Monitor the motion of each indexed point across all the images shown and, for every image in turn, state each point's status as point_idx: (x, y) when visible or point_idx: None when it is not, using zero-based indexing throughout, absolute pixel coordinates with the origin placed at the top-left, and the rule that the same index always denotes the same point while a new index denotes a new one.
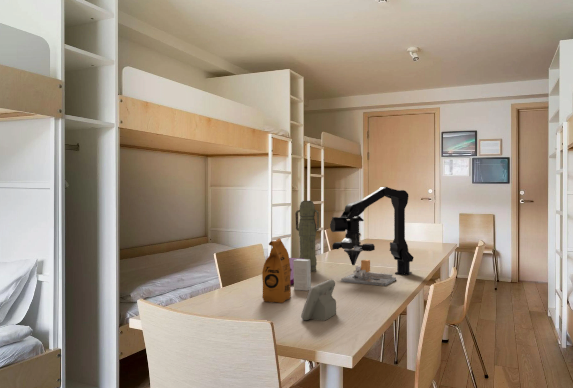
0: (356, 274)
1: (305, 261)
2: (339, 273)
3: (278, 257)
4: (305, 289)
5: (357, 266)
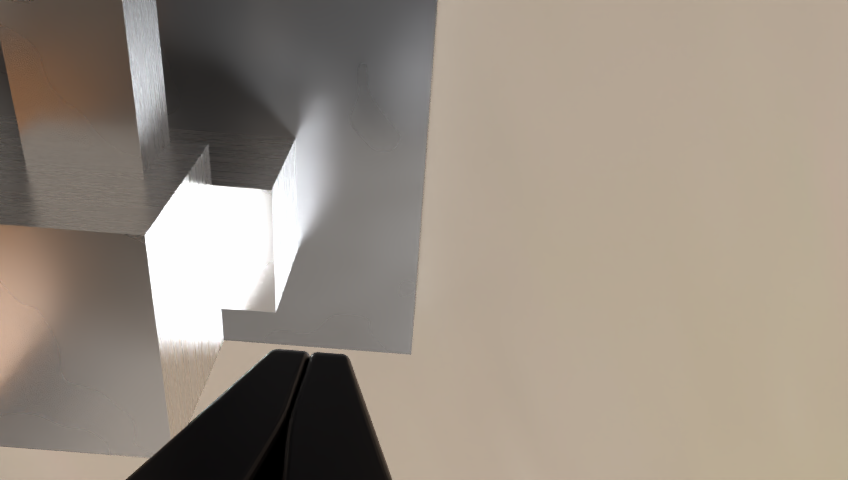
0: (227, 146)
1: None
2: (828, 473)
3: None
4: None
5: (85, 272)
